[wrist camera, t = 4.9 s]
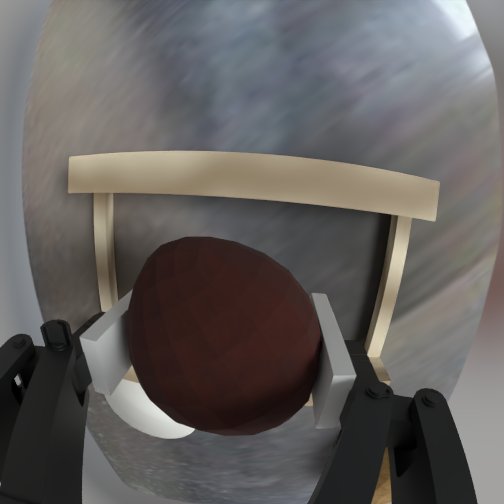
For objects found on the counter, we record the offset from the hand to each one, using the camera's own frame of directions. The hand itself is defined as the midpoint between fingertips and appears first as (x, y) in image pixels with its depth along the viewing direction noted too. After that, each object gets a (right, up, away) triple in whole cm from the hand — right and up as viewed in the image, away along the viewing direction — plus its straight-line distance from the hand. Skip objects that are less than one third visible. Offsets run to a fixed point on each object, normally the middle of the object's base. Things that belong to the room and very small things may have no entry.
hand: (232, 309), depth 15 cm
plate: (-10, -13, +11) cm, 19 cm away
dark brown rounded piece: (0, 0, 0) cm, 1 cm away
